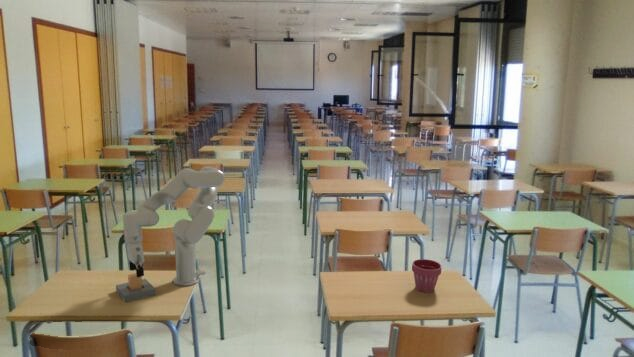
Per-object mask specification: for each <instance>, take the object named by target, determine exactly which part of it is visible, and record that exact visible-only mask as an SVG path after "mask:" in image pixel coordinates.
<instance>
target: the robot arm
mask: <svg viewBox="0 0 634 357" xmlns="http://www.w3.org/2000/svg"><path fill="white" fill-rule="evenodd" d="M225 180H226V177H225V173H224V172H223V171H222V170H220V169H218V168H215V167H212V166H210V165H207V166H203V167H201V169H200V170H195V169H192V168H190V167H188V168H186V167H185V168H183V169H181V170H180V171H179V172H178V173H177V174H176V175H175V176H173V178H172V179H171V180H170V181H169V182H168V183H167V184H166V185H165V186H164V187H163V188H162V189H160V190H158V191H157V192H155V193H153V194H152V195H150V196H148V198H146V199H145V200H144V201H143V202H142V203H141V205H139V206H138V207H137V209H136V211H135V210H131V211H126V212H125V213H123V215H122V222H123V223H122V224H123V232H124V233H123V235H124V243H125V244H126V250H127V257H128V261H129V270H130V271H134V270H135V271H136V272H135V273H136V274H137V277H141V276H142V277H143V276H145V272H144V271H145V269H144V263H145V253H144V247H143V243H142V242H143V233H142V232H143V230H142V228H146V227H147V228H148V227H154V226H156V225H157V224H158V223H159V221H160V215H159V214H158V213H157V210H159V208H161V207H162V206H165V205H166V204H170V203H174V202H177V201H178V200H179V199H180V198H181V197H182V196H183V195H184V194H185V193H186V192H187V191H188V190H189V189H192V190H193V189H194V190H196V189H197V190H199V192H198V193H197V195H196V197H195V198H194V200H193V201H192V202H191V203H190V205H189V207H188V209H187V215H188V216H189V218H190V219H191V220H190V219H189V220H188V219H187V218H186V219H185V218H182V219H179V220H177V221H176V222H175V223H174V226H173V233H172V234H173V238H174V244H175V245H174V246H175V271H176V272H175V274H176V276H175V277H174V278H173V279H172V281H173V284H175V285H176V286H180V287H187V286H189V287H190V286H192V285H196V284H198V282H199V281H200V276H205V275H206V271H205V270H202V271H201V270H200V269H199V270H197V264H196V263H197V262H196V261H197V260H196V258H197V256H196V244H197V243H199V242H200V241H201V240H202V238H203V236H204V235H205V234H206V233H207V230H208V229H209V228H210V226H211V224H212V223H213V222H214V218H215V210H214V209H213V207H212V205H213V204H214V202H215V200H216V198H217V196H218V191H219V187H221V186H222V185H223V184H224V182H225Z"/></svg>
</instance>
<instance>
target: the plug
mask: <svg viewBox="0 0 634 357" xmlns="http://www.w3.org/2000/svg"><path fill="white" fill-rule="evenodd" d="M127 279H128V280H127V281H128V282H127V283H128V284H129V290H130V291H132V290H136V289H141V288H142V279H143V276H141V277H137V274H136V272H135V273H134V272H133V273H131V274H128V275H127Z"/></svg>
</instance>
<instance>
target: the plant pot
mask: <svg viewBox="0 0 634 357" xmlns="http://www.w3.org/2000/svg"><path fill="white" fill-rule="evenodd" d="M411 271H412V272H413V277H414V284H415V285H414V286H415V289H416V290H418V291H420V292H422V293H431V292H434V291H435V288H436V285H437V284H438V283H437V282H438V280H439V276H440V275H441V274H442V264H441V263H440V262H438V261H435V260H433V259H426V258H421V259H415V260H413V262H412V265H411Z"/></svg>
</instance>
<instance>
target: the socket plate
mask: <svg viewBox="0 0 634 357" xmlns="http://www.w3.org/2000/svg"><path fill="white" fill-rule="evenodd" d="M156 290H157V289H156V288H155V287H154V286H153V285H152V283H150V282H149V281H148V280H147V279H146V278H142V288H141V289H136V290H132V291H130V290H129V284H128V282H125V283H122V284H116V285H115V291H116V293H117V294H118V295H119V297H121V299H122V300H123V301H124V302H125V303H127V302H131V301H135V300H140V299H143V298H147V297H152V296H156V295H157V294H156V293H157V291H156Z"/></svg>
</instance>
